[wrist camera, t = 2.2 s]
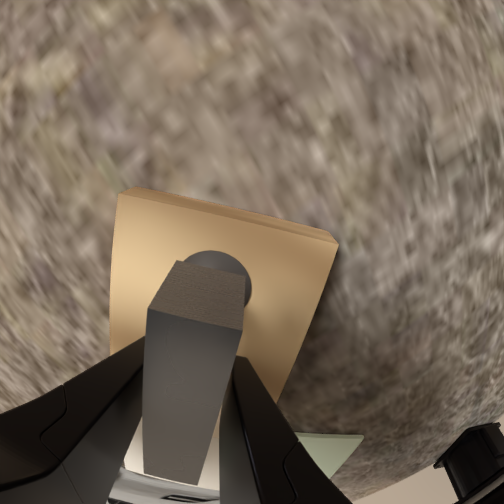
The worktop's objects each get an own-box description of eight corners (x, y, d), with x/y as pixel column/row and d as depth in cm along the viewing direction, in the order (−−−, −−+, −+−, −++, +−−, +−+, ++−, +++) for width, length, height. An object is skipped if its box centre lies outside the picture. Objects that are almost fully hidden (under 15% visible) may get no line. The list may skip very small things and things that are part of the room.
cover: (227, 454, 17) (225, 491, 14) (137, 434, 16) (125, 469, 13) (249, 398, 15) (248, 442, 12) (136, 372, 14) (118, 413, 11)
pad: (318, 486, 22) (318, 489, 22) (223, 480, 21) (222, 483, 21) (362, 434, 19) (364, 438, 19) (246, 426, 18) (246, 430, 18)
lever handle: (205, 400, 15) (187, 518, 8) (175, 393, 14) (146, 508, 8) (248, 223, 12) (242, 330, 5) (206, 213, 11) (147, 307, 5)
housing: (246, 442, 19) (246, 465, 17) (124, 415, 18) (116, 436, 16) (327, 231, 14) (339, 245, 12) (136, 186, 13) (117, 193, 11)
